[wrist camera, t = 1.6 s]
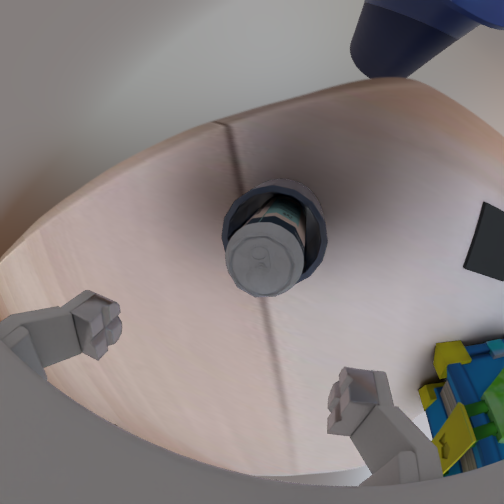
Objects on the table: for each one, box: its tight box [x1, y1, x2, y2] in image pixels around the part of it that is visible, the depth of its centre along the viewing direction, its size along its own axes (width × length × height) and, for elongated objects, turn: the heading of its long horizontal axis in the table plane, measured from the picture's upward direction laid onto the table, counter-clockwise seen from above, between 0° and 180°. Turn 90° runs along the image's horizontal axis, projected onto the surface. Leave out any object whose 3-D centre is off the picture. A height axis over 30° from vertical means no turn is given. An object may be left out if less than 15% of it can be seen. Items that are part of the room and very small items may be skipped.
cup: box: [222, 178, 328, 284], centre depth 24 cm, size 8×8×7 cm
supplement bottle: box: [225, 196, 306, 297], centre depth 21 cm, size 5×5×12 cm
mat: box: [463, 202, 504, 281], centre depth 22 cm, size 8×8×1 cm
